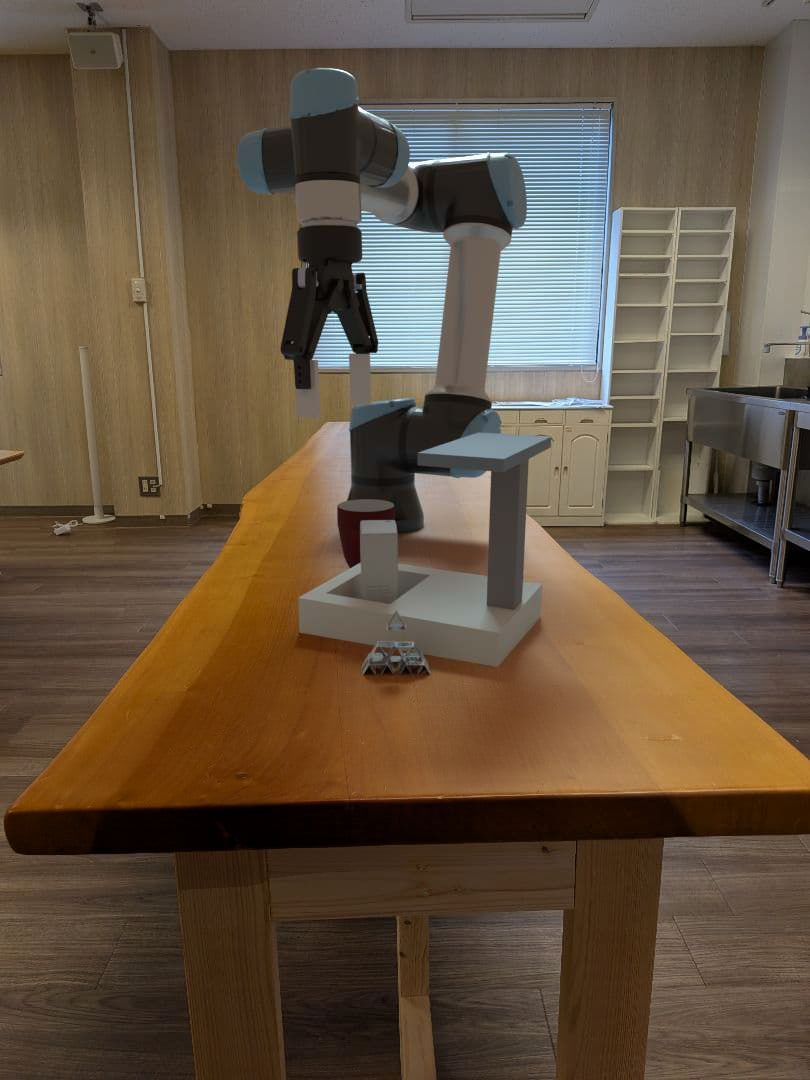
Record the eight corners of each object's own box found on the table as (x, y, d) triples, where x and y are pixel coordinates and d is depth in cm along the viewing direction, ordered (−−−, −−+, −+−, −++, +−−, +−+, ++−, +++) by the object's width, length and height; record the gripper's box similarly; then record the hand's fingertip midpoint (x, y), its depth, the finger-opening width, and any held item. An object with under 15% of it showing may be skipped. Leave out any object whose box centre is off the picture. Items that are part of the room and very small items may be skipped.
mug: (391, 589, 97) (390, 516, 95) (331, 587, 98) (329, 515, 95) (397, 565, 108) (397, 499, 105) (343, 564, 108) (341, 498, 105)
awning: (474, 572, 88) (478, 432, 84) (543, 582, 85) (551, 436, 80) (416, 620, 73) (417, 452, 69) (497, 634, 70) (503, 458, 65)
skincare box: (361, 615, 88) (359, 519, 85) (396, 614, 89) (396, 519, 85) (361, 635, 83) (360, 533, 79) (399, 634, 83) (399, 532, 80)
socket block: (367, 595, 95) (367, 559, 94) (540, 624, 86) (542, 584, 84) (299, 639, 81) (298, 597, 80) (497, 679, 72) (498, 632, 70)
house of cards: (445, 656, 78) (446, 588, 76) (452, 695, 69) (453, 620, 67) (361, 657, 78) (360, 589, 76) (357, 696, 69) (356, 621, 67)
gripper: (349, 237, 97) (355, 398, 103) (238, 216, 75) (253, 422, 81) (401, 234, 94) (403, 400, 100) (301, 211, 72) (312, 425, 78)
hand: (336, 410), depth 91 cm, fingers open, 13 cm apart
